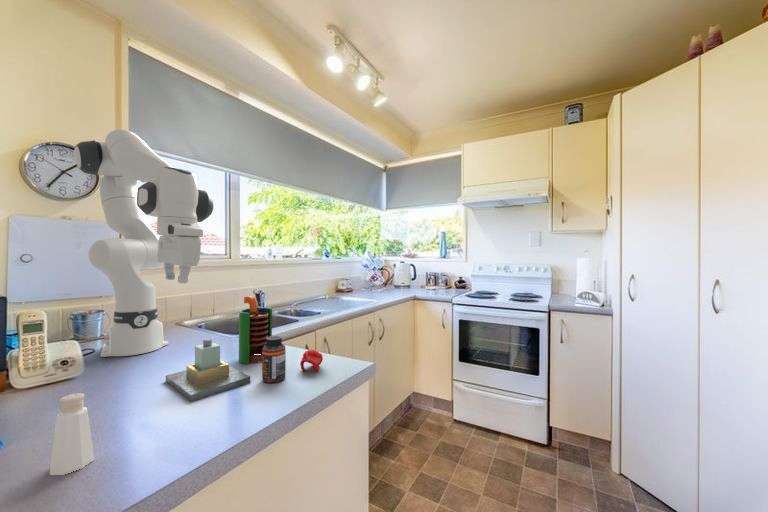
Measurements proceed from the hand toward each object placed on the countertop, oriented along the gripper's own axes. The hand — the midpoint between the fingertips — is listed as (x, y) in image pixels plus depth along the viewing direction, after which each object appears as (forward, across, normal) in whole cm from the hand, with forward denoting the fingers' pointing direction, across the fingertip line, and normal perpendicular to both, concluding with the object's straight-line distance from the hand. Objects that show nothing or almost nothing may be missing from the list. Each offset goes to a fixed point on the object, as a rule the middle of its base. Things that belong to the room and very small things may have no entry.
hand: (176, 281), depth 83 cm
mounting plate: (+26, +8, +5) cm, 28 cm away
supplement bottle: (+26, +20, +17) cm, 37 cm away
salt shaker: (+26, +26, -22) cm, 43 cm away
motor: (+26, +1, +22) cm, 35 cm away
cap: (+25, +23, +28) cm, 44 cm away
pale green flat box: (+25, +8, +5) cm, 26 cm away
